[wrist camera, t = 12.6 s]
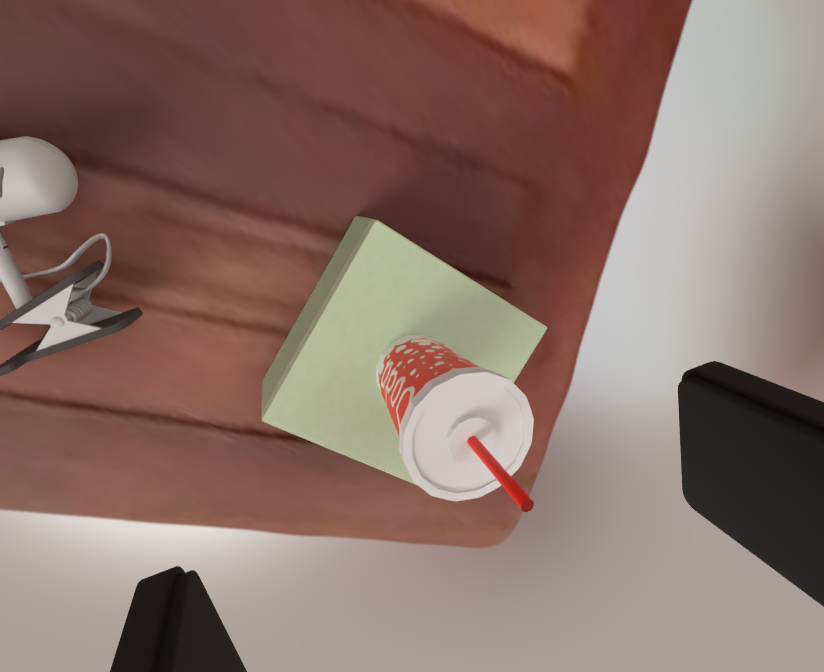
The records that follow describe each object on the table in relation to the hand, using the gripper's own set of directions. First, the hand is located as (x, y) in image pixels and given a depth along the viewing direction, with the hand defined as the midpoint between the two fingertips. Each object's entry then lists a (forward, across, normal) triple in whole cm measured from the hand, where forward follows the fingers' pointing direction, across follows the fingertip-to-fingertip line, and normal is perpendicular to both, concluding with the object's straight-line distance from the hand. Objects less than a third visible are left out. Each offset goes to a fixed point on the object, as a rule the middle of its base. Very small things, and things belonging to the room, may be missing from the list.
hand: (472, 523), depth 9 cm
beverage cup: (+20, -3, +6) cm, 21 cm away
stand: (+26, -3, +6) cm, 27 cm away
